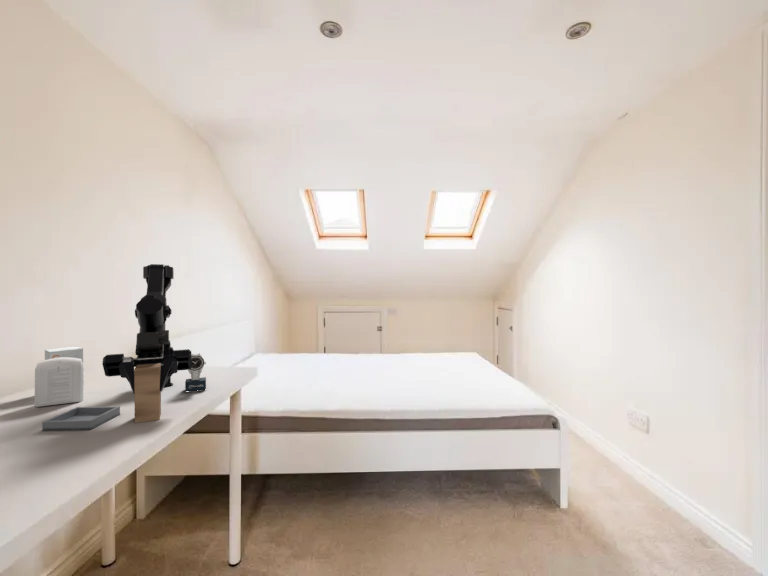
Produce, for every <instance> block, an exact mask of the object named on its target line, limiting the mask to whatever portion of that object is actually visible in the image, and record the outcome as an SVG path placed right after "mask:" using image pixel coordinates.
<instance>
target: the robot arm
mask: <svg viewBox="0 0 768 576" xmlns="http://www.w3.org/2000/svg"><path fill="white" fill-rule="evenodd" d="M142 271H143V272H142V273H143V274H142V276H143V277H142V278H143V279H144V280H145V282H146V284H147V285H146V286H147V287H146V294H145V295H144V296H142V297H141V298H140V300H139V301H138V302H137V303H136V306H135V307H136V308H135V309H134V315H135V318H136V319H137V323H138V326H139V332H137V333H136V340H135V341H136V343H135V344H136V345H135V356H136V357H132V356H125V354H124V353H114V354H106V355H105V356H103V358H102V363H101V365H102V368H103V372H104V375H105V377H120V378H125V379H126V380H127V382H128V383H129V386H130V389H131V392H132V395H135V386H134V369H135V367H136V366H137V365H145V364H157V363H161V380H160V392H161V393H162V392H163V390H164V388H166V387H170V385H171V386H174V383H172V381H171V378H172V376H173V374H177V373H178V372H179V371H186V370H187V371H188V370H189V369H191V354H192V350H190V348H189V349H176V350H175V349H174V347H172V345H171V340H170V333H169V332H170V330H168V329H166V322H167V319H169V318H170V317H171V315H172V311H173V310H172V309H171V307H170V305H169V304H168V305H167V297H166V295H167V292H168V290H169V289H170V287H171V286H172V280H174V267H173V266H170V265H167V264H161V263H160V264H158V263H157V264H156V263H155V264H153V263H151V264H148V265H146V266H143V267H142Z"/></svg>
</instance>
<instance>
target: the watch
mask: <svg viewBox="0 0 768 576" xmlns="http://www.w3.org/2000/svg"><path fill="white" fill-rule="evenodd" d="M204 365H207V362H206V361H205V358H203V356H202V354H201V353H191V369H189V370H187V371H188V373H189V375H190V378H186V379H185V382H184V383H185V385H184V390H185V392H186V391H197V390H205V389H206V390H207V377H206V376H204V377H200V376H201V374H202V371H203V369H204ZM185 392H184V393H185ZM197 392H198V391H197Z"/></svg>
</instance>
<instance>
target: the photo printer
mask: <svg viewBox="0 0 768 576" xmlns="http://www.w3.org/2000/svg"><path fill="white" fill-rule="evenodd" d="M84 378H85V368H84V362H83V363H82V359H78V358H71V357H61V358H52V359H48V360H45V359H44V360H40V361H39V362H37V363H36V367H35V369H34V403H33V404H34V405H33V406H34V407H36V408H39V407H47V406H48V407H49V406H55V405H57V406H58V405H63V404H64V405H65V404H72V403H80V402H83V401H84V394H85V393H84V390H85V388H84V387H85V386H84V385H85V380H84Z"/></svg>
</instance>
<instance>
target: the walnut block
mask: <svg viewBox="0 0 768 576" xmlns="http://www.w3.org/2000/svg"><path fill="white" fill-rule="evenodd" d="M160 380H161V363H157V364H145V365H137V366H136V367H134V386H135V394H134V423H135V424H136V423H144V422H150V421H159V420H160V419H161V415H162V394H161V393H162V391H161V392H160Z"/></svg>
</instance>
